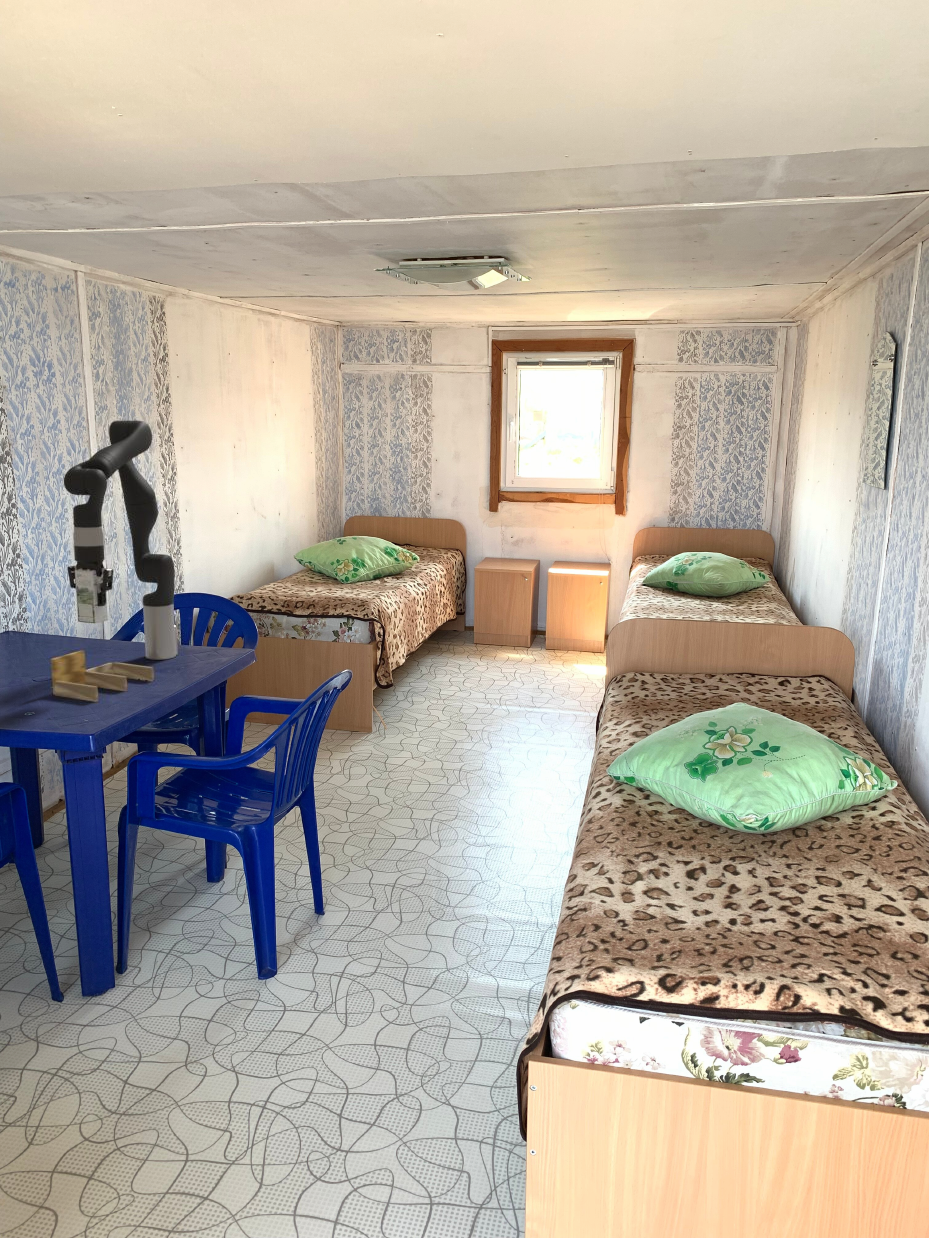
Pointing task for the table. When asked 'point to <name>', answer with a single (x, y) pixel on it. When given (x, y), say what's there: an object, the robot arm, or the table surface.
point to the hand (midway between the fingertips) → (92, 604)
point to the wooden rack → (92, 676)
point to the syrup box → (89, 598)
